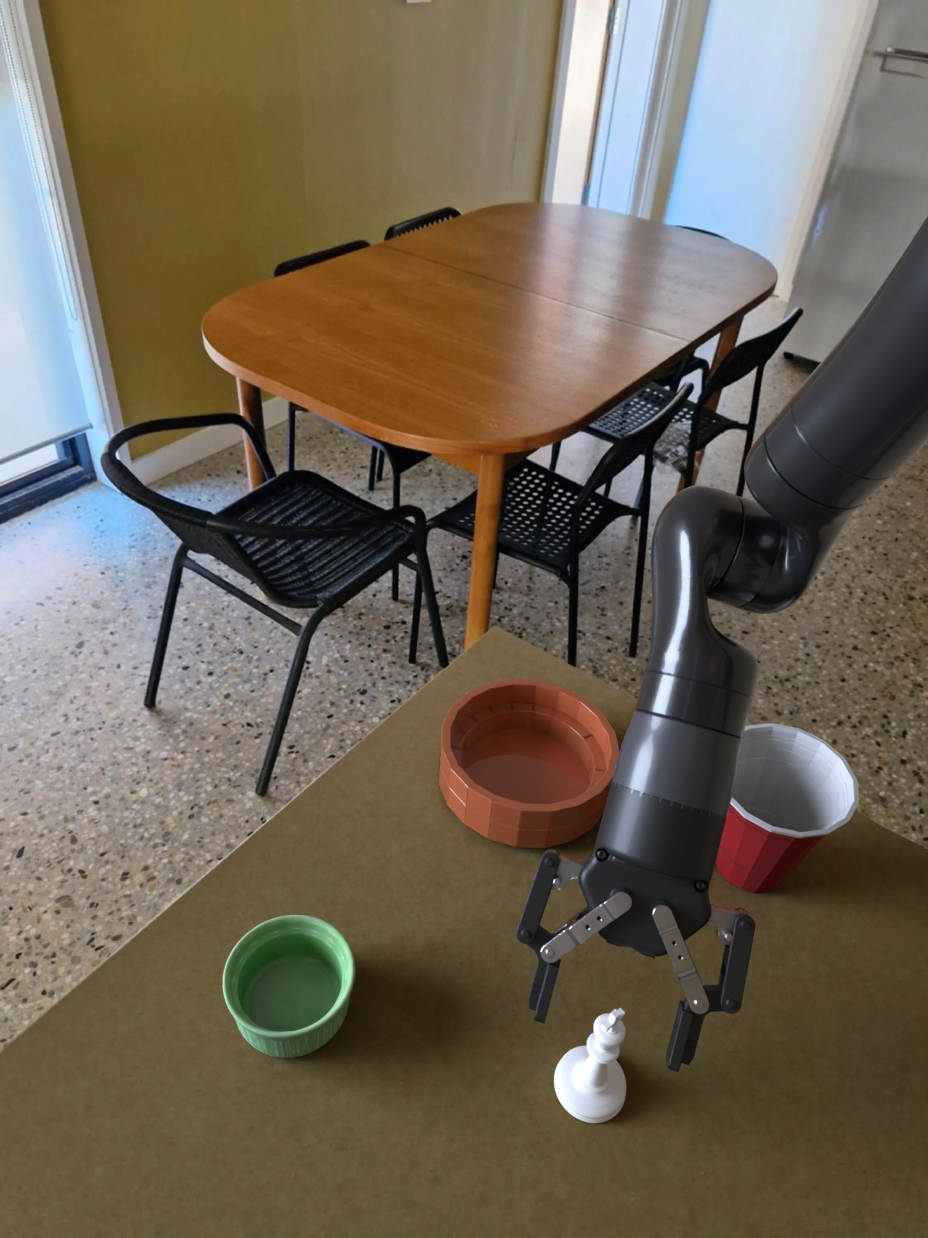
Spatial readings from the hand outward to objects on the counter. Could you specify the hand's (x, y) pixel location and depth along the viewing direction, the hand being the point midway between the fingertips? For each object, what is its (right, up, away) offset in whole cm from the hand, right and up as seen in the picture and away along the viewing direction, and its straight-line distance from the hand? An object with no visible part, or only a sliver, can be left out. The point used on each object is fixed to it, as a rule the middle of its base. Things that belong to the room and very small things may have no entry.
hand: (605, 1042), depth 56 cm
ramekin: (-21, -1, +8) cm, 23 cm away
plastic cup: (+15, +6, +20) cm, 25 cm away
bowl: (-3, +12, +25) cm, 28 cm away
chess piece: (0, -5, +5) cm, 7 cm away
